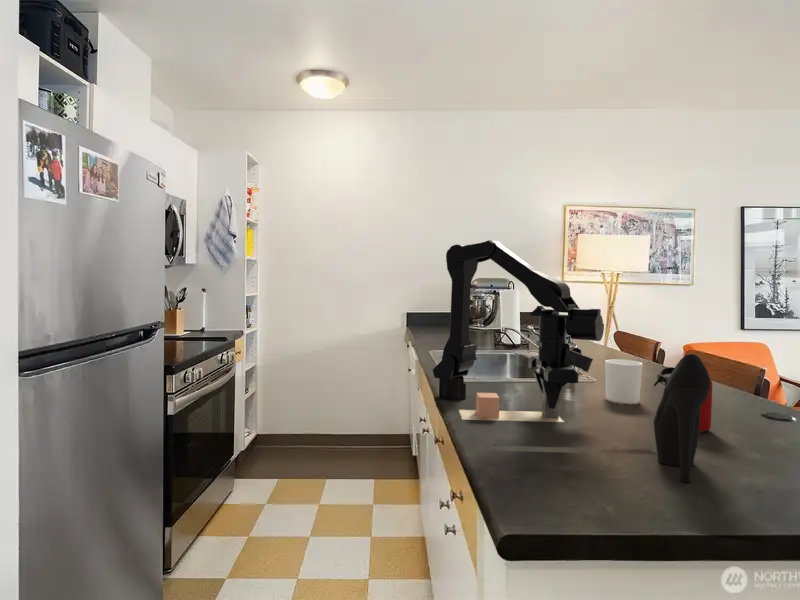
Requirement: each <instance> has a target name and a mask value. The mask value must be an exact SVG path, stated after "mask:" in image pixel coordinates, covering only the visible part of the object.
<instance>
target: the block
mask: <svg viewBox="0 0 800 600" xmlns="http://www.w3.org/2000/svg"><path fill="white" fill-rule="evenodd" d="M475 397H476V398H475V402H476V403H475V410H476V413H477V415H478V418H499V411H500V397H499V395H498V393H496V392H476V396H475Z"/></svg>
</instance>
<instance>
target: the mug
mask: <svg viewBox="0 0 800 600" xmlns="http://www.w3.org/2000/svg"><path fill="white" fill-rule="evenodd" d="M604 363H605V364H604V374H605V381H604V382H605V400H606V401H607V402H609V403H612V402H613V403H612V404H616V403H618V404H617V405H624V404H629V405H628V406H632V404H633V406H635V405H638V404H639V403H640V400H641V399H640V398H641V389H642V388H641V386H642V385H641V384H642V373H643V364H644V363H643V362H640V361H636V360H630V359H615V358H613V359H606V360H605V361H604ZM630 404H631V405H630ZM634 404H635V405H634Z"/></svg>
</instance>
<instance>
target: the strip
mask: <svg viewBox="0 0 800 600" xmlns="http://www.w3.org/2000/svg"><path fill="white" fill-rule="evenodd" d="M541 398H542V400H541V403H542V404H541V406H542V407H541V411H530V410H529V411H525V410H524V411H521V410H520V411H519V410H499V418H478V415H477V413H476V409H458V412H459V414H460V417H461V420H463V421H464V420H465V421H468V420H469V421H498V422H499V421H501V422H502V421H504V422H507V421H508V422H540V423H543V422H544V423H545V422H547V423H550V422H551V423H565V421H564V420H563V419H562V418H561V416H559V415H560V413H559V411H560V396H559V397H558V400H557V404H556V407H555V409H550V408H549V405H548V402H547V399H546V396H545V393H544V389H543V396H542V397H541Z"/></svg>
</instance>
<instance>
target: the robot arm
mask: <svg viewBox="0 0 800 600" xmlns="http://www.w3.org/2000/svg"><path fill="white" fill-rule="evenodd" d="M445 254H446V255H445V259H446V260H445V261H446V269H447V271H448V274H449V277H450V279H451V294H450V295H451V296H450V297H451V299H450V317H449V319H450V321H449V337H448V339H447V341H446V343H445V345H444V347H443V351H442V357H441V361H439V362H438V363H437V364H436V366H435V367H434V368H433V369H432V372H433V373H432V374H433V377H434V379H435V378H436V379H438V387H437V388H438V390H437V391H438V393H437V394H438V400H445V401H459V400H466V399H467V397H466V396H467V395H466V394H467V384H466V382H465V380H464V378H465V377H466V376H468V374H469V372H470V369H471V368H473V366H474V364H475V361H478V360H477V356H476V355H477V354H476V352H477V348H478V346H477V344H473V343H472V342H471V340H470V315H471V312H470V311H471V297H472V296H471V294H472V280H473V279H474V277H475V275H476V272H477V270H478V265H479V263H483V262H487V261H489V260H491V261H492V262H494V263H495V264H497V265H498V266H499V267H500V268H502V269H503V270H505V272H507V273H508V274H510V275H511V276H512V277H514V278H515V279H517V280H518V281H519V282H521V283H522V284H523V285H524V286H525V287H526V288H527V290H528V292H529V294H530V295H531V296H532V297H533V299H535V300H536V302H538V303H539V304H540V305H537V306H536V307H535V308H534V310H532V311H531V312H530V313H529V315H530V316H531V317H539V319H538V320H539V322H538V323H539V324H538V327H539V328H538V339H537V340H536V346H537V347H538V354H537V355H532V356H531V357H530V358H528V364H527V365H528V368H529V369H530V370H534V368H536V371H533V372H532V374H533V376H534V378H535V381H536V383H537V385H538V389H539V390H540V393H541V395H542V396H543V389H544V393H545V396H546V399H547V402H548V405H549V408H550V409H555V407H556V404H557V400H558V397H559V398H560V393H561V391H562V389H563V387H564V386H566V384H578V383H579V373H578V372H577V371H576V369H574V368H573V367H575V368H578V369H580V370H582V371H584V372H585V373H588V372H589V370H590V367H591V365H592V362H593V361H594V360H593V359H594V358H592V357H589V356H587V355H584V354H582V349H580V348H577V347H576V346H572V347H571V348H570V346H571V345H570V344H569V343H568V342H567V341H566V340H567V336H569V337H570V338H571V339H572V340H579V341H591V342H593V341H594V342H601V341H602V339H603V337H604V331H605V324H604V320H603V316H602V314H601V311H602V310H601V309H600V308H589V309H588V308H580V307H579V306H578V304H577V303H576V301H575V300H574V298H573V297H572V295H571V288H570V286H569V285H568V284H567V283H566V282H564V281H561V280H559V279H557V278H556V277H554V276H551V275H547V274H545V273H543V272H541V271H538V269H536V268H534V267H533V266H532V265H531V264H529V263H527V261H525V260H523V259H522V258H520V256H518V255H516V254H515V253H514V252H513V251H511V250H510V249H508V248H507V247H505V246H504V245H503V243H501V242H500V241H497V240H491V239H490V240H486V241H482V242H478V243H477V242H476V243H471V244H466V245H464V244H453V245H452V246H450V247H449V249H447V250H446V253H445ZM544 307H545V308H544ZM547 308H548V309H547ZM550 308H551V309H550ZM561 313H562V314H561ZM563 313H565V314H563ZM566 313H567V314H566ZM571 366H573V367H571Z"/></svg>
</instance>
